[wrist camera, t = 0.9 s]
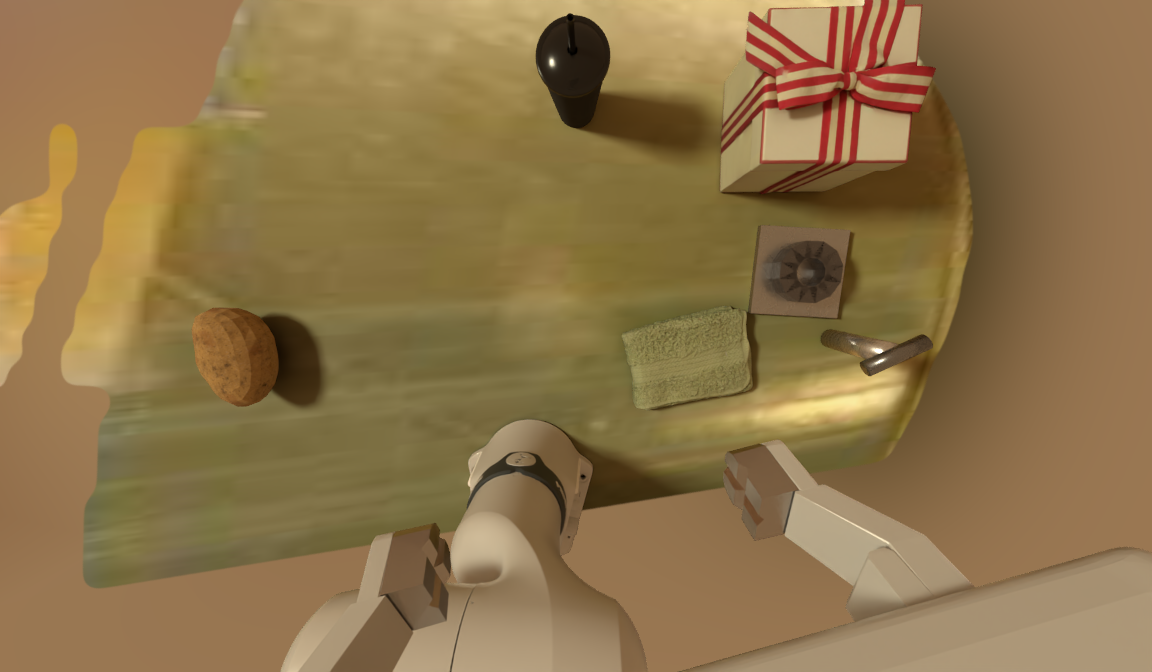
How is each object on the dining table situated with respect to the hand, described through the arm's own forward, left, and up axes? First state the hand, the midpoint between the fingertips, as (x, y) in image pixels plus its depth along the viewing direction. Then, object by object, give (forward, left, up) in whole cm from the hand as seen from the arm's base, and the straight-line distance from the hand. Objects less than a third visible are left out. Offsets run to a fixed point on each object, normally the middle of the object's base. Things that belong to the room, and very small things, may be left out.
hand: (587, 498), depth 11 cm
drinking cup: (+28, +3, -49) cm, 57 cm away
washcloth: (-5, -15, -50) cm, 52 cm away
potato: (-8, +48, -49) cm, 69 cm away
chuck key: (-1, -35, -49) cm, 60 cm away
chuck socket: (+8, -29, -49) cm, 57 cm away
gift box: (+27, -23, -49) cm, 61 cm away
